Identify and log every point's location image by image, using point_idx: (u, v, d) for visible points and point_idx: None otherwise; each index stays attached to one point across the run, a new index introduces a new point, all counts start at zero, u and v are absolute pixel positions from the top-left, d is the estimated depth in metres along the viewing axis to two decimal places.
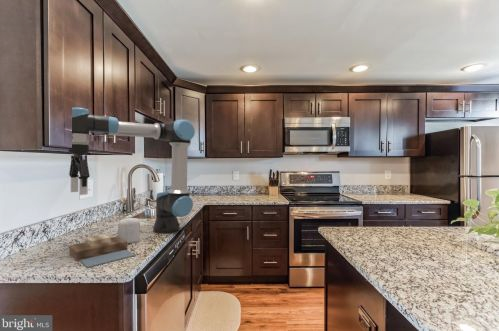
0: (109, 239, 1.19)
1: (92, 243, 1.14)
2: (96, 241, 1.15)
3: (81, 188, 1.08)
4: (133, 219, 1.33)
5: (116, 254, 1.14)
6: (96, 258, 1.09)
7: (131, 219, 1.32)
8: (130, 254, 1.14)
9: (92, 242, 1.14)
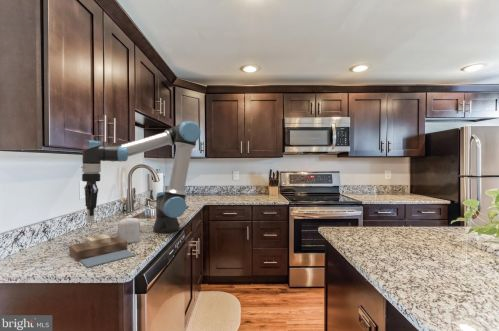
0: (109, 239, 1.19)
1: (92, 243, 1.14)
2: (96, 241, 1.15)
3: (89, 217, 1.25)
4: (133, 219, 1.33)
5: (116, 254, 1.14)
6: (96, 258, 1.09)
7: (131, 219, 1.32)
8: (130, 254, 1.14)
9: (92, 242, 1.14)
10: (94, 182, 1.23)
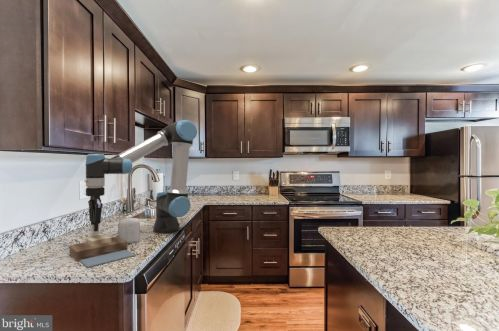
0: (109, 239, 1.18)
1: (92, 243, 1.13)
2: (96, 241, 1.15)
3: (93, 232, 1.21)
4: (133, 219, 1.33)
5: (116, 254, 1.14)
6: (96, 258, 1.09)
7: (131, 219, 1.32)
8: (130, 254, 1.14)
9: (92, 242, 1.13)
10: (98, 197, 1.19)
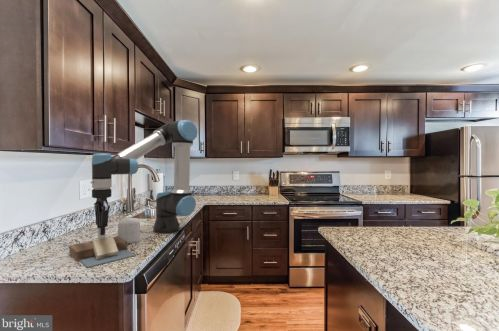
0: (116, 252, 1.13)
1: (98, 257, 1.08)
2: (103, 255, 1.09)
3: (100, 236, 1.15)
4: (133, 219, 1.33)
5: None
6: None
7: (131, 219, 1.32)
8: (130, 254, 1.14)
9: (98, 256, 1.08)
10: (105, 199, 1.13)
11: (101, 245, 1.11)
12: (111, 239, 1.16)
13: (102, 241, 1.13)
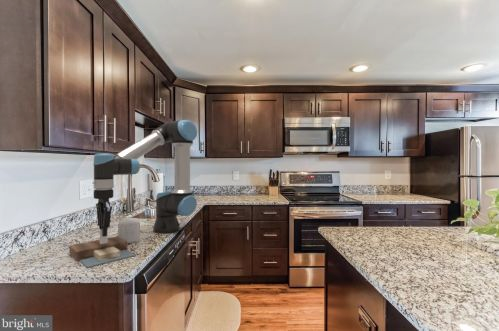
0: (118, 253, 1.11)
1: (100, 258, 1.06)
2: (105, 255, 1.07)
3: (102, 237, 1.13)
4: (133, 219, 1.33)
5: None
6: None
7: (131, 219, 1.32)
8: (130, 254, 1.14)
9: (100, 257, 1.06)
10: (107, 199, 1.12)
11: (102, 251, 1.11)
12: (112, 247, 1.15)
13: (103, 249, 1.13)
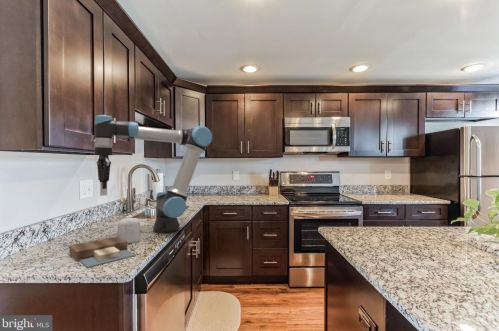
0: (118, 253, 1.11)
1: (100, 258, 1.06)
2: (105, 255, 1.07)
3: (102, 190, 1.28)
4: (133, 219, 1.33)
5: None
6: None
7: (131, 219, 1.32)
8: (130, 254, 1.14)
9: (100, 257, 1.06)
10: (107, 155, 1.26)
11: (102, 251, 1.11)
12: (112, 247, 1.15)
13: (103, 249, 1.13)
